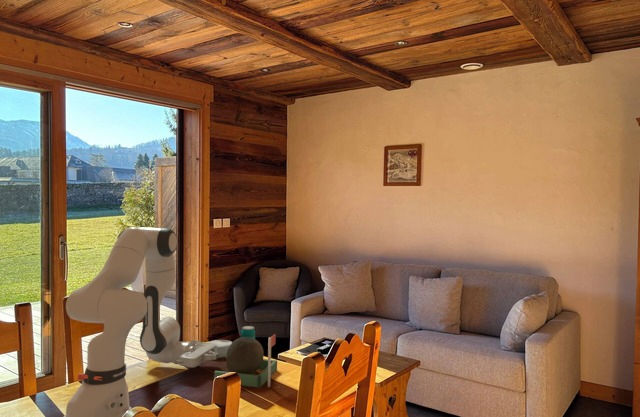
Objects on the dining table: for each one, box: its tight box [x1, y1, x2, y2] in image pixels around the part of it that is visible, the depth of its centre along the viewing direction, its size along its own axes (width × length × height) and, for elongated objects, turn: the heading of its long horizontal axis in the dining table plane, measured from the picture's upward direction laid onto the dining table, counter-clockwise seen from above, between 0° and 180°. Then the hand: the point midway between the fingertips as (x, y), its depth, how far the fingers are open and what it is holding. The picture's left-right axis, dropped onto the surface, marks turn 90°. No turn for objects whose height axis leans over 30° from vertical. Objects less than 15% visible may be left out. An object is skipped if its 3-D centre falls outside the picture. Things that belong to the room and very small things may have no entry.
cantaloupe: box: [225, 336, 265, 375], centre depth 194 cm, size 14×14×15 cm
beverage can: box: [240, 325, 256, 340], centre depth 211 cm, size 6×6×15 cm
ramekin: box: [207, 339, 233, 359], centre depth 221 cm, size 11×11×5 cm
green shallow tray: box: [213, 334, 278, 388], centre depth 194 cm, size 19×22×18 cm
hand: (217, 356), depth 198 cm, fingers closed
